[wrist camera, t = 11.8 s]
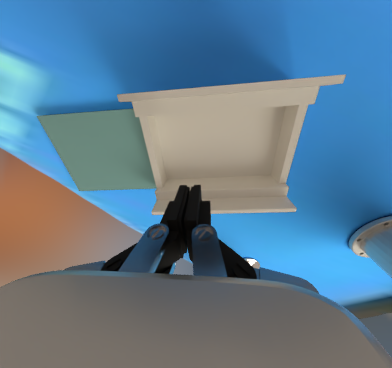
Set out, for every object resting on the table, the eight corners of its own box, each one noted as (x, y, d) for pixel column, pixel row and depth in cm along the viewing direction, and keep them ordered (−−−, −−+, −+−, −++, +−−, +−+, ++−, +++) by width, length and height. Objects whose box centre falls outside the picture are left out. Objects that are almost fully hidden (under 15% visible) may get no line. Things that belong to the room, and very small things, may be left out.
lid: (148, 107, 21) (143, 107, 20) (164, 182, 28) (161, 188, 26) (49, 114, 22) (36, 116, 21) (86, 185, 29) (79, 191, 27)
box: (294, 83, 19) (346, 74, 12) (271, 183, 26) (295, 211, 19) (145, 96, 20) (116, 94, 13) (164, 186, 28) (152, 214, 21)
